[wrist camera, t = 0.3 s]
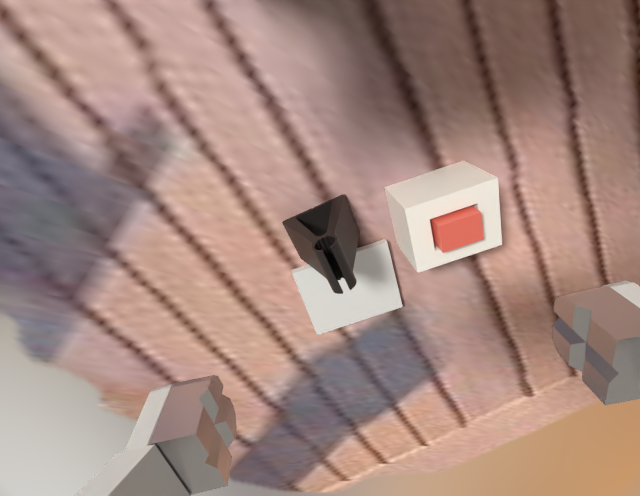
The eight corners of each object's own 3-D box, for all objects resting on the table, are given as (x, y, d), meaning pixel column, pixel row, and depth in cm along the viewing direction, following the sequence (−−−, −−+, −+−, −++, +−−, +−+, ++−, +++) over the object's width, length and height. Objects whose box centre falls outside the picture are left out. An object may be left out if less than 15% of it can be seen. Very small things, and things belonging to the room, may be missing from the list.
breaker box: (384, 187, 48) (404, 209, 41) (463, 160, 48) (497, 177, 41) (397, 244, 53) (417, 272, 46) (470, 219, 52) (502, 244, 45)
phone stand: (300, 256, 52) (309, 307, 41) (282, 221, 49) (287, 266, 38) (359, 231, 51) (384, 276, 40) (344, 193, 48) (367, 231, 38)
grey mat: (291, 270, 52) (292, 273, 51) (385, 238, 52) (387, 241, 51) (316, 330, 58) (317, 335, 57) (400, 302, 58) (402, 306, 57)
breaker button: (428, 216, 44) (438, 226, 41) (468, 203, 44) (481, 212, 41) (432, 241, 46) (443, 252, 43) (471, 228, 46) (483, 239, 43)
